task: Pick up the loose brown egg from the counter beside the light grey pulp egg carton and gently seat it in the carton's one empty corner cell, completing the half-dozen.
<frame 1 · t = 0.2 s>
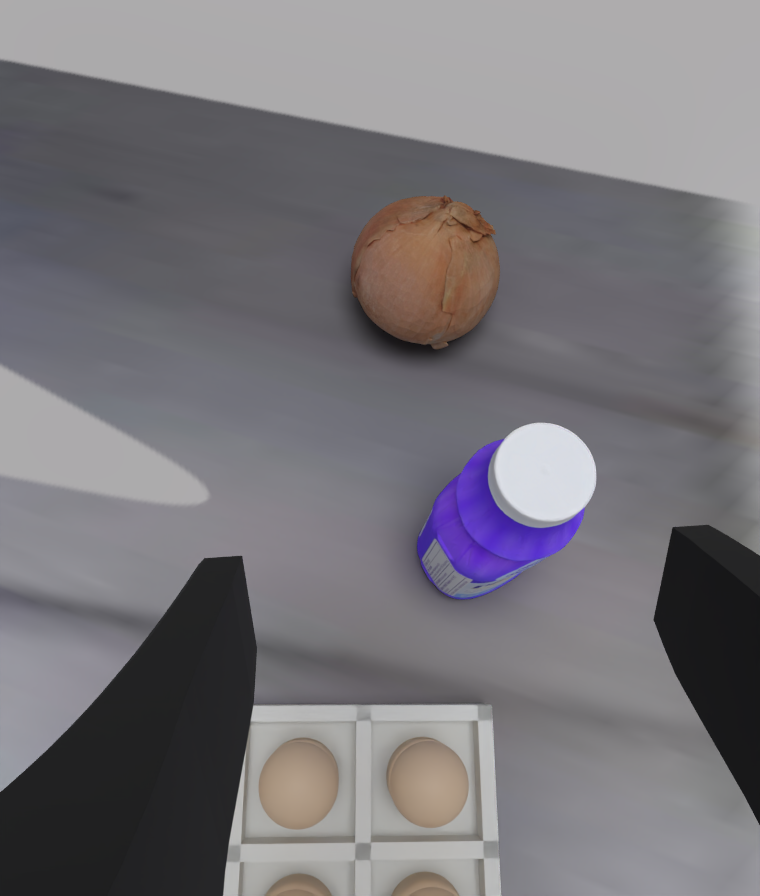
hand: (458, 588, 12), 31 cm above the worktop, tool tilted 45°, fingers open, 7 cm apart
carton: (300, 841, 38), on the worktop
bottle: (470, 550, 44), on the worktop
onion: (417, 308, 49), on the worktop
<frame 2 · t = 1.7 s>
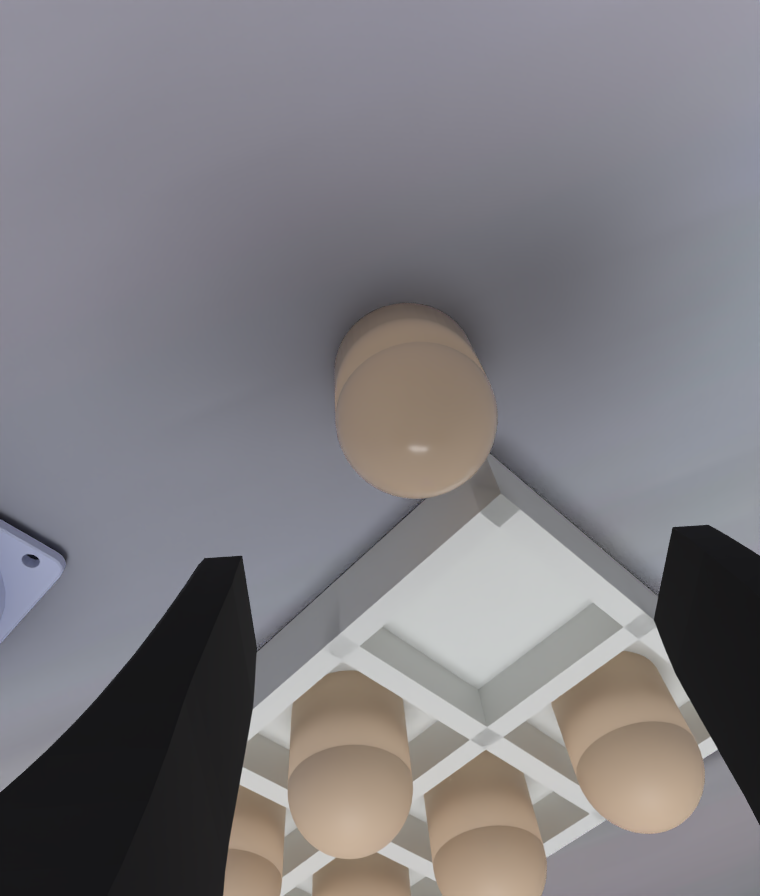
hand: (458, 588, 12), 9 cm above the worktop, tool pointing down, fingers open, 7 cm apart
carton: (411, 727, 27), on the worktop
egg: (404, 370, 20), on the worktop
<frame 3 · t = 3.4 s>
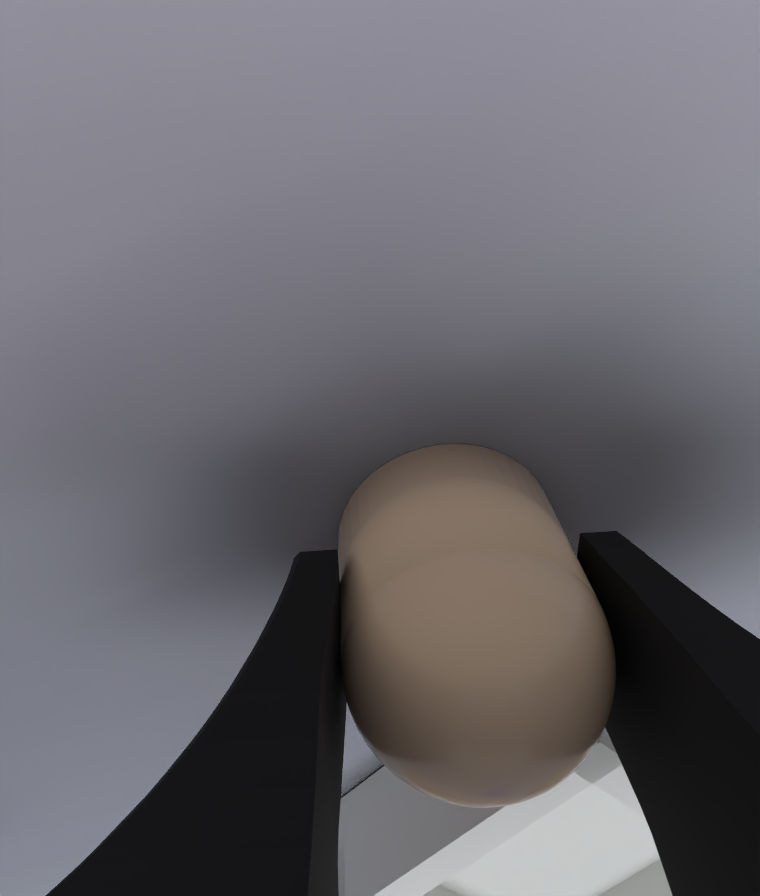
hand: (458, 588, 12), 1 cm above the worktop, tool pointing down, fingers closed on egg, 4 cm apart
egg: (445, 537, 13), on the worktop, touching gripper
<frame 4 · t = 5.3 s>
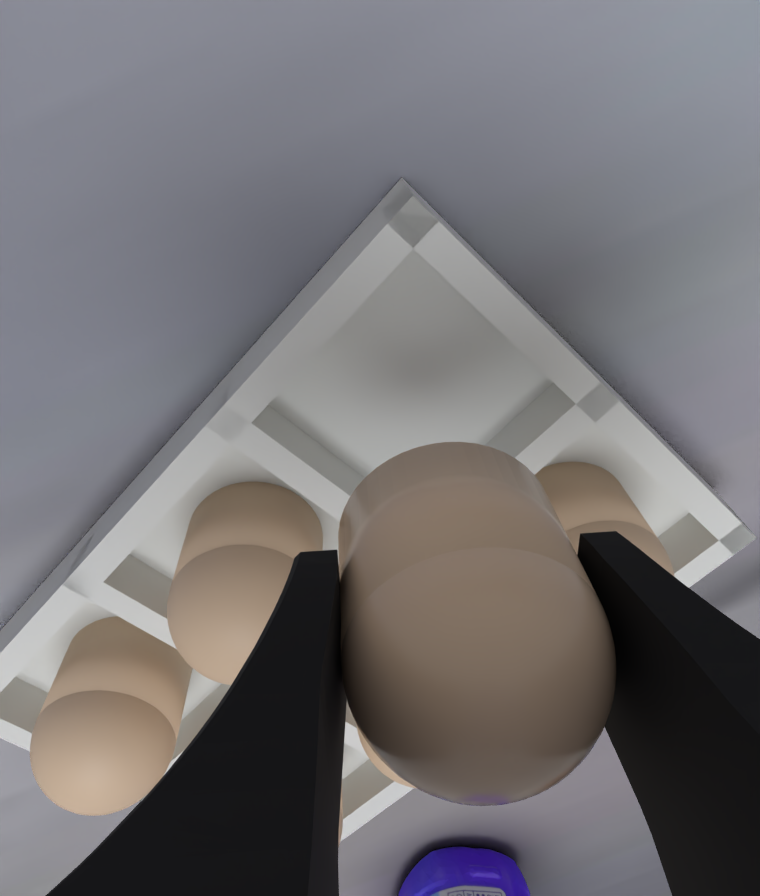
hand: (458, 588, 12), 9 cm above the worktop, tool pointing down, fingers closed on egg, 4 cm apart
carton: (338, 572, 23), on the worktop
egg: (445, 536, 13), point 8 cm above the worktop, touching gripper
bottle: (454, 876, 33), on the worktop
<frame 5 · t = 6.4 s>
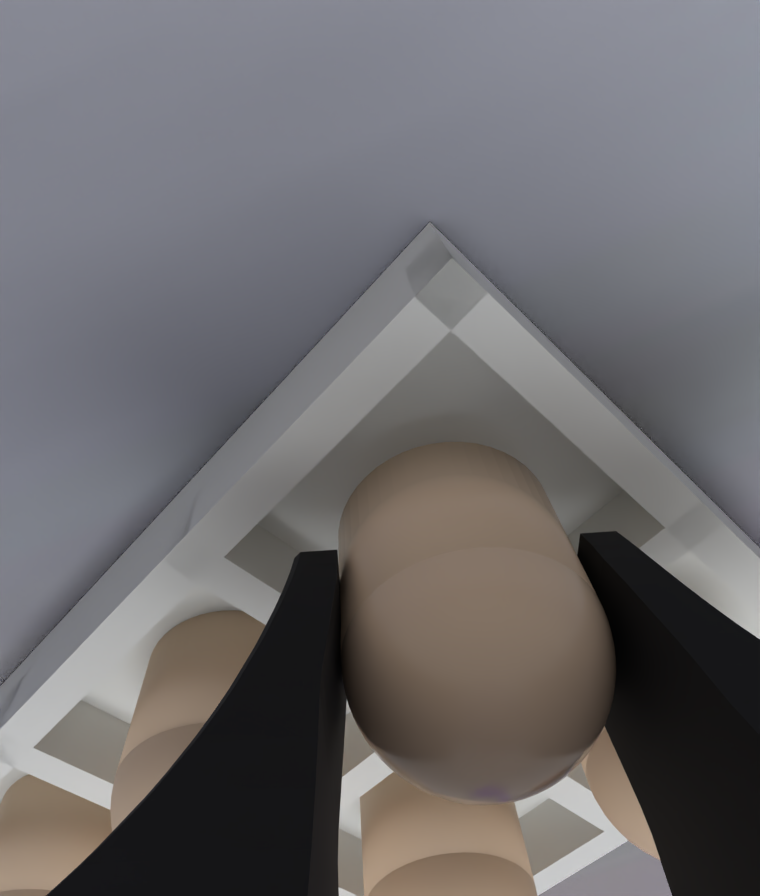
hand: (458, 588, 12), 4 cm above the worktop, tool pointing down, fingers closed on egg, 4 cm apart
carton: (341, 703, 19), on the worktop
egg: (445, 536, 13), point 2 cm above the worktop, touching gripper
when the fingers open (4 cm above the worktop, at t = 7.0 s): egg drops 1 cm, resting on carton.
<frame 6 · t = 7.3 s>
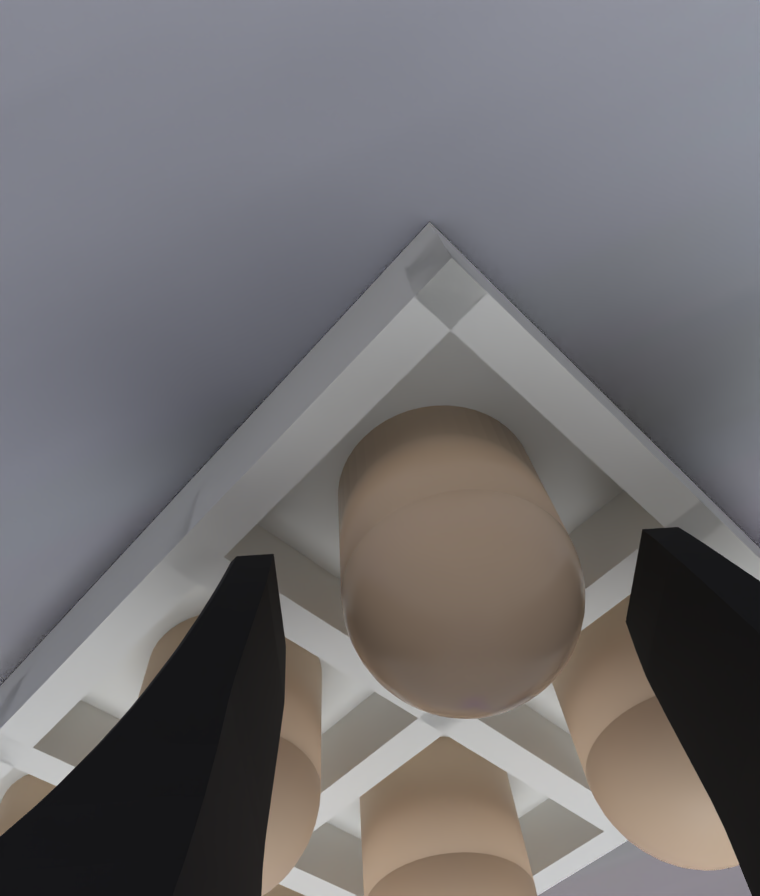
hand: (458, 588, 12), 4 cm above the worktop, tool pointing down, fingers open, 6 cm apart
carton: (341, 703, 19), on the worktop
egg: (435, 493, 14), point 1 cm above the worktop, touching carton
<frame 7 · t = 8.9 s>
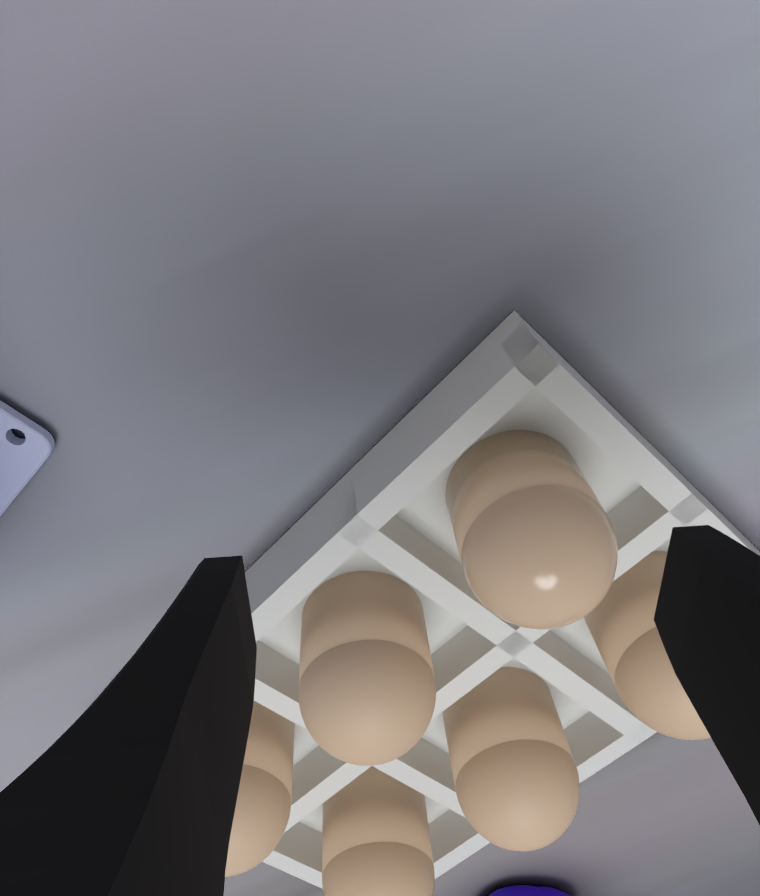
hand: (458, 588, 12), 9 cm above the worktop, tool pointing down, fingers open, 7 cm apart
carton: (429, 644, 25), on the worktop
egg: (511, 489, 21), point 1 cm above the worktop, touching carton
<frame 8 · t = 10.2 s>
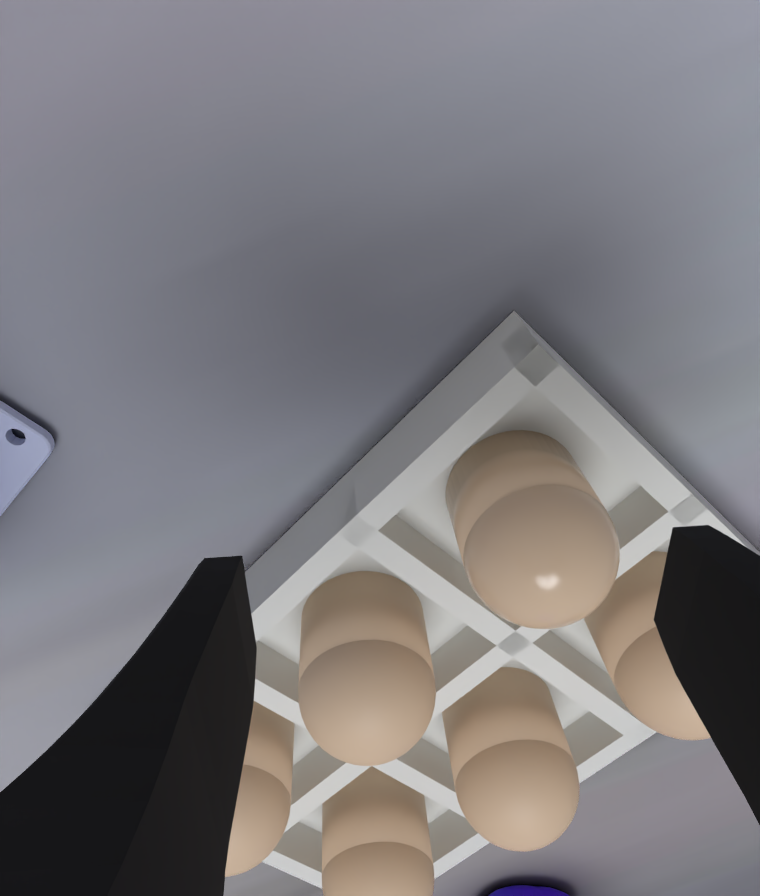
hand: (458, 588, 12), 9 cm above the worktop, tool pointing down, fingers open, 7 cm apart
carton: (429, 644, 25), on the worktop
egg: (511, 489, 21), point 1 cm above the worktop, touching carton
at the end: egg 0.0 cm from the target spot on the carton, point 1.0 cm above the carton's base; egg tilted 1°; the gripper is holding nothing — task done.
